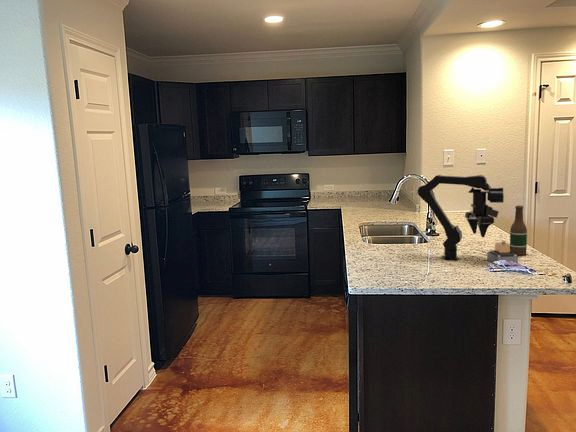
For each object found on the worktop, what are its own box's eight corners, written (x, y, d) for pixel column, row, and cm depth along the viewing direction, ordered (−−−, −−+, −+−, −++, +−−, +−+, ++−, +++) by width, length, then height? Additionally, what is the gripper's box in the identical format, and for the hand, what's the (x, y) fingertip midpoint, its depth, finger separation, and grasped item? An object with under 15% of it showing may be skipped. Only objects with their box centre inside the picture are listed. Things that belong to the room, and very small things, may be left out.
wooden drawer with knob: (494, 259, 219) (495, 240, 217) (504, 259, 219) (505, 239, 218) (499, 261, 214) (499, 242, 213) (509, 261, 214) (509, 241, 213)
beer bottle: (512, 251, 236) (514, 204, 233) (529, 254, 231) (530, 205, 227) (506, 254, 231) (507, 206, 227) (523, 257, 225) (524, 207, 222)
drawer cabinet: (487, 260, 222) (487, 249, 221) (505, 259, 222) (506, 249, 221) (497, 266, 211) (498, 255, 210) (517, 265, 211) (518, 254, 211)
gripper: (506, 204, 209) (505, 238, 212) (487, 199, 228) (487, 231, 230) (481, 205, 209) (480, 239, 211) (464, 200, 228) (464, 232, 230)
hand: (478, 235), depth 221 cm, fingers open, 9 cm apart
